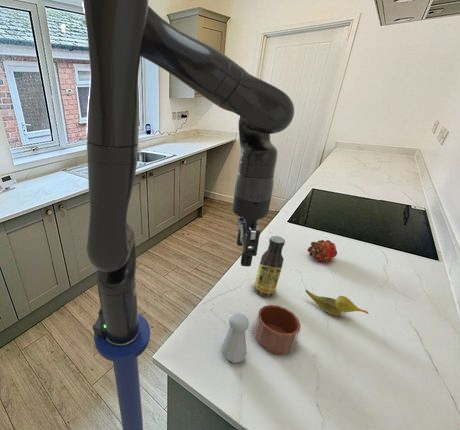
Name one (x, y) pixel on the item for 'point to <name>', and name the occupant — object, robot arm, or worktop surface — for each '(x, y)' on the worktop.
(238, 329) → the salt shaker
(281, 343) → the cup
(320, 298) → the yellow-green tapered piece
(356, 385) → the worktop surface
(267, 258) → the sauce bottle
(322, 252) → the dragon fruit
